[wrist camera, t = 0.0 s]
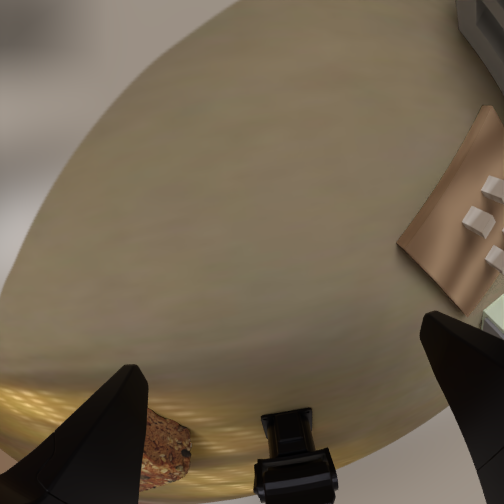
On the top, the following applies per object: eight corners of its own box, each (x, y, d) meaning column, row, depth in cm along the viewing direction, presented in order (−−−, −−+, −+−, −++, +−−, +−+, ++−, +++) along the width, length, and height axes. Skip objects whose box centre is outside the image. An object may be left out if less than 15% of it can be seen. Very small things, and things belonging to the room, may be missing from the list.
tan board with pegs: (529, 201, 21) (552, 212, 17) (461, 310, 27) (480, 331, 22) (482, 105, 17) (513, 107, 13) (396, 242, 22) (423, 264, 18)
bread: (140, 456, 37) (132, 499, 28) (88, 429, 34) (74, 474, 25) (197, 428, 32) (192, 489, 23) (129, 394, 29) (110, 458, 20)
